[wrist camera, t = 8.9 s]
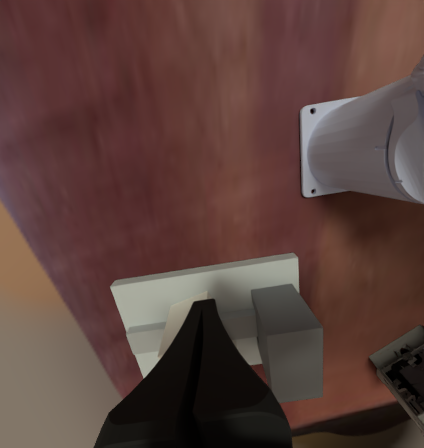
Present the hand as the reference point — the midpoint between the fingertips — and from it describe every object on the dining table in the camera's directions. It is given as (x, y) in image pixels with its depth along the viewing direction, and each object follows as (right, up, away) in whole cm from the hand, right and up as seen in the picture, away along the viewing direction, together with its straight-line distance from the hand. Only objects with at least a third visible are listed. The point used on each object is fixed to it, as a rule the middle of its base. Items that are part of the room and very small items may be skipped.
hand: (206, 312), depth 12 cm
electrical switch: (+25, -10, +14) cm, 30 cm away
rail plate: (0, -6, +11) cm, 13 cm away
